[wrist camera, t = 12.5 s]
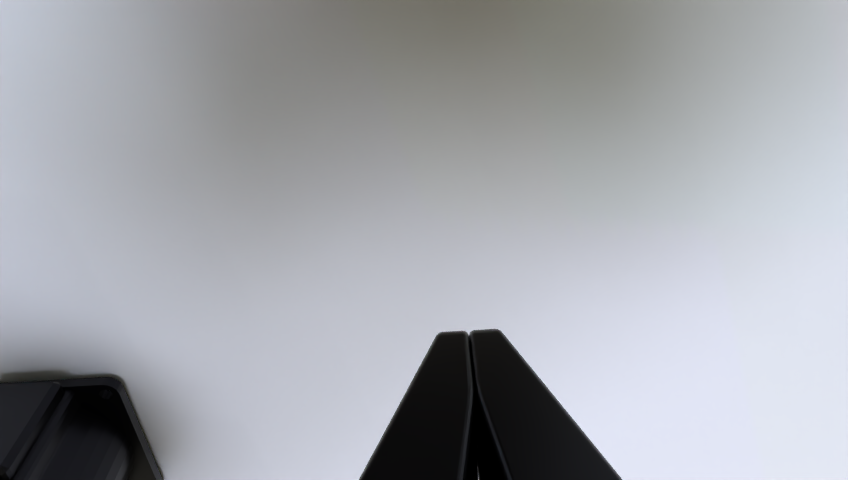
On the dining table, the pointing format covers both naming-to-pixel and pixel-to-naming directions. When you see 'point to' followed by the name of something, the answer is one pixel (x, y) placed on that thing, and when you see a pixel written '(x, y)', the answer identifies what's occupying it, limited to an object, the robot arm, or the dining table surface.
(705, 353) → the dining table surface
